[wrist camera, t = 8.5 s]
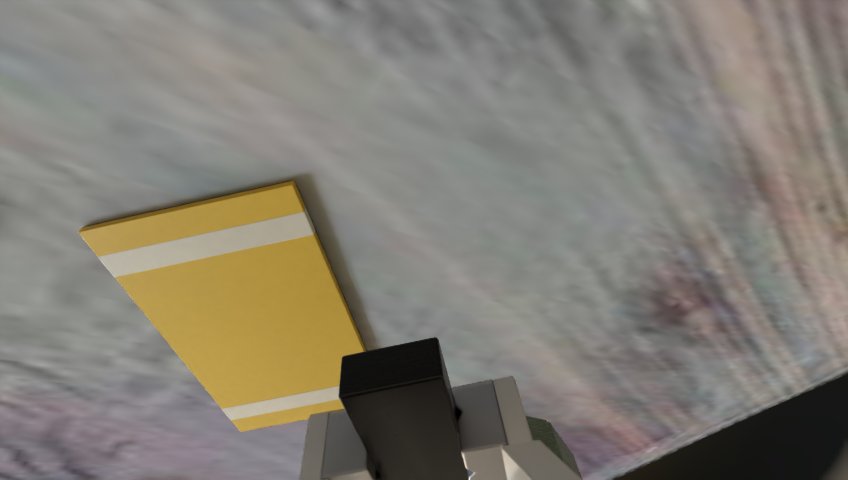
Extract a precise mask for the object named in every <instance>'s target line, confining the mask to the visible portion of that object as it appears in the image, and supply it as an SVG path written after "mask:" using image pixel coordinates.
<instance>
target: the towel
mask: <svg viewBox="0 0 848 480" xmlns="http://www.w3.org/2000/svg"><path fill="white" fill-rule="evenodd" d="M79 234H80V235H81V236H82V238H83V239H84V240H85V241H86V242H87V244H88V245H89V246H90V247H91V249H92V250H93V251H94V252H95V254H96V255H97V256H98V258H99V259H100V261H101V262H102V263H103V264H104V265H105V267H106V268H107V269H108V270H109V272H110V273H111V274H112V275H113V277H115V278H116V279H117V281H118V282H119V283H120V284H121V285H122V287H123V288H124V289H125V290H126V292H127V293H128V294H129V295H130V297H131V298H132V299H133V300H134V301H135V303H136V304H137V305H138V306H139V308H140V309H141V310H142V311H143V313H144V314H145V315H146V316H147V317H148V319H149V320H150V321H151V322H152V324H153V325H154V326H155V327H156V328H157V330H158V331H159V332H160V333H161V335H162V336H163V337H164V338H165V340H166V341H167V342H168V343H169V344H170V346H171V347H172V348H173V349H174V351H175V352H176V353H177V354H178V356H179V357H180V358H181V359H182V360H183V362H184V363H185V364H186V365H187V367H188V368H189V369H190V370H191V371H192V373H193V374H194V375H195V376H196V378H197V379H198V380H199V381H200V383H201V384H202V385H203V386H204V387H205V389H206V390H207V391H208V392H209V394H210V395H211V396H212V397H213V399H214V400H215V401H216V402H217V403H218V405H219V406H220V407H221V408H222V410H223V411H224V413H225V414H226V415H227V416H228V418H229V419H230V420H231V421H232V422H233V423H234V424H235V426H236V427H237V428H238V429H239V430H240V432H242V431H248V430H253V429H258V428H263V427H268V426H274V425H279V424H284V423H289V422H295V421H300V420H305V419H309V417H310V415H311V414H316V413H321V412H327V411H333V410H339V409H344V407H343V405H342V403H341V401H340V399H339V397H338V396H339V384H340V373H341V361H342V357H343V356H346V355H350V354H355V353H360V352H365V351H366V349H365V347H364V344H363V342H362V340H361V337H360V335H359V332H358V330H357V328H356V325H355V323H354V321H353V318H352V316H351V314H350V311H349V309H348V307H347V304H346V302H345V299H344V297H343V295H342V292H341V290H340V288H339V285H338V283H337V281H336V278H335V276H334V274H333V271H332V269H331V267H330V264H329V262H328V259H327V257H326V255H325V252H324V250H323V248H322V245H321V243H320V241H319V238H318V236H317V234H316V231H315V228H314V226H313V223H312V221H311V219H310V216H309V214H308V212H307V209H306V207H305V205H304V203H303V201H302V198H301V196H300V194H299V191H298V189H297V186H296V184H295V182H294V181H290V182H285V183H281V184H276V185H272V186H267V187H263V188H258V189H254V190H249V191H245V192H240V193H236V194H231V195H227V196H222V197H218V198H213V199H209V200H204V201H199V202H195V203H190V204H186V205H181V206H177V207H172V208H168V209H163V210H159V211H154V212H150V213H145V214H141V215H136V216H132V217H127V218H123V219H118V220H114V221H109V222H105V223H100V224H96V225H91V226H86V227H83V228H82V229H81V230H80V231H79Z"/></svg>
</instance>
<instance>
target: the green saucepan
mask: <svg viewBox="0 0 848 480" xmlns="http://www.w3.org/2000/svg"><path fill="white" fill-rule="evenodd" d="M338 397H339V399H340V401H341V403H342V405H343V407H344V409H345V410H346V412H347V414H348V416H349V418H350V420H351V422H352V424H353V426H354V428H355V430H356V432H357V434H358V435H359V437H360V439H361V441H362V443H363V445H364V447H365V449H366V451H367V452H368V454H369V456H370V457H371V459H372V461H373V463H374V465H375V467H376V470H377V472H378V474H379V476H380V477H381V478H382V480H469V478H468V472H467V469H466V468H465V464H464V460H463V457H462V453H461V447H460V441H459V435H458V434H459V427H458V419H459V418H458V414H457V411H456V407H455V402H454V396H453V392H452V388H451V385H450V381H449V377H448V373H447V370H446V366H445V362H444V359H443V355H442V351H441V347H440V344H439V340H438V339H437V338H435V337H434V338H429V339H424V340H419V341H414V342H410V343H405V344H400V345H395V346H390V347H385V348H380V349H375V350H370V351H365V352H360V353H355V354H350V355H346V356H343V357H342V361H341V373H340V384H339V396H338ZM526 419H527V422H528V426H529V429H530V432H531V436H532V439H533V440H540V441H541V442H542V443H544V444H545V445H546V446H547V447H548V448H549V449H550V450H551V451H552V452H553V453H554V454H555V455H556V456H558V457H559V458H560V459H561V460H562V461H563V462H564V463H565V464H566V465H567V466H568V467H569V468H570V469H572V470H573V471H574V472H575V473H576V474H577V475H578V476H579V477H580V478H581V479H582V477H581V474H580V472H579V469H578V466H577V464H576V461H575V458H574V455H573V454H572V453H571V451H570V450H569V448H568V447H567V446H566V444H565V443H564V441H563V440H562V439H561V437H560V436H559V435H558V433H557V432H556V430H555V429H554V428H553V426H552V425H551V423H550V422H547V421H546V420H543V419H539V418H534V417H529V416H526Z"/></svg>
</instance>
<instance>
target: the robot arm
mask: <svg viewBox="0 0 848 480" xmlns="http://www.w3.org/2000/svg"><path fill="white" fill-rule="evenodd" d="M452 392H453V396H454V402H455V407H456V411H457V414H458V418H459V419H458V427H459V434H458V435H459V441H460V447H461V453H462V457H463V460H464V464H465V468H466V469H467V472H468V478H469V480H582V479H581V478H580V477H579V476H578V475H577V474H576V473H575V472H574V471H573V470H572V469H570V468H569V467H568V466H567V465H566V464H565V463H564V462H563V461H562V460H561V459H560V458H559V457H558V456H556V455H555V454H554V453H553V452H552V451H551V450H550V449H549V448H548V447H547V446H546V445H545V444H544V443H542V442H541V441H540V440H533V439H532V436H531V432H530V429H529V426H528V422H527V419H526V415H525V412H524V409H523V405H522V402H521V398H520V395H519V392H518V388H517V385H516V381H515V379H514V377H513V376H509V377H504V378H499V379H495V380H486V381H481V382H477V383H472V384H467V385H462V386H457V387H453V388H452ZM299 480H382V478H381V477H380V476H379V474H378V472H377V470H376V467H375V465H374V463H373V461H372V459H371V457H370V456H369V454H368V452H367V451H366V449H365V447H364V445H363V443H362V441H361V439H360V437H359V435H358V434H357V432H356V430H355V428H354V426H353V424H352V422H351V420H350V418H349V416H348V414H347V412H346V410H345V409H339V410H333V411H327V412H321V413H316V414H311V415H310V417H309V419H308V422H307V427H306V434H305V440H304V447H303V454H302V460H301V467H300V474H299Z"/></svg>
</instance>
